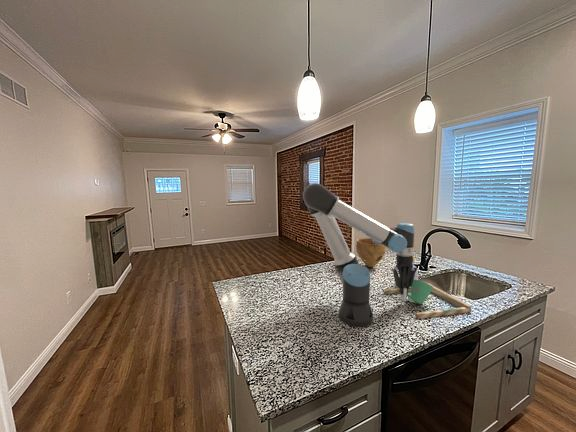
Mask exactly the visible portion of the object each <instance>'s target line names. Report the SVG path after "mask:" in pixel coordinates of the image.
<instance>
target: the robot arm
mask: <svg viewBox="0 0 576 432" xmlns="http://www.w3.org/2000/svg"><path fill="white" fill-rule="evenodd" d="M302 200H303V201H304V204H305V205H306V207H307V210H308V212H309V214H310V216H312V217H314V218H315V220H316V222H317V224H318V226H319V229H320V231H321V232H322V235H323V237H324V239H325V242H326V244H327V246H328V248H329V251H330V253H331V254H332V256H333V259H334V260H333V266H334V268H335V269H336V270H335V271H336V272H337V274H338V278H339V279H340V282H341V284H342V300H341V304H340V306H339V309H338V318H339V320H340V321H341V322H342V323H344V324H346V325H348V326H352V327H353V326H354V327H368V326H369V325H371V324H372V323H373V321H374V314H373V310H372V307H371V303H370V293H371V292H370V290H371V272H370V270H369V267H368V268H367V267H366V265H362V264H360V263H359V260H358V258H357V256H356V254H355V253H353V252H351V250H350V248H349V246H348V244H347V242H346V240H345V237H344V236H343V232H342V230H341V228H340V226H339V224H338V221H337V220H339V221H340V222H342V223H344V224H346V225H347V226H349V227H351V228H353V229H355V230H356V231H358V232H360V233H361V234H364V235H365V236H366V237H367V238H372V241H373V243H378V244H382V245H384V246H386V248H388V249H389V250H390V251H392V252H394V253H396V255H395V256H396V257H395V260H396V264H395V267H394V268H391V272H392V273H393V278H394V283H395V286H396V287H397V288H399V293H398V294H400V296H399V299H400V300H401V301H402V302H407V297H408V296H407V294H408V293H409V292H408V289H409V287H411V286H412V284H413V280H414V276H415V272H416V271H417V269H418V267H417V266H415V265H414V258H413V256H414V248H415V247H414V245H415V244H414V242H415V241H414V240H415V225H414V224H413V223H408V222H400V223H399V222H398V223H397V226H396V227H387V226H386V225H384V224H382V223H380V222H378V221H377V220H374V218H371V217H370V216H368V215H366V214H364V213H363V212H361V211H360V210H358V209H356V208H354V207H352V206H351V205H349V204H347V203H346V202H344V201H342V200H341V199H340V197H339V196H338V195H337V194H335V193H333V192H332V191H330V189H328V188H327V187H325V186H324V185H323V184H320V183H310V184H309V185H307V186H306V187H304V190H303V192H302ZM336 219H337V220H336ZM412 263H413V264H412ZM414 266H415V267H414Z"/></svg>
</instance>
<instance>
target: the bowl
mask: <svg viewBox="0 0 576 432" xmlns="http://www.w3.org/2000/svg"><path fill="white" fill-rule="evenodd" d="M355 244H356V245H355V250H356V253H357V254H358V257H359V258H360V260H361V261H362V262H363V264H364V265H365V266H367V267H368V268H373V267H376V265H378V264H379V263H380V261H382V259H383V258H384V256H385V255H386V252H387V249H386V248H387V247H386V246H384V245H382V244H378V243H373V241H372V238H370V237H366V238H363V237H362V238H361V237H360V238H357V239H356V243H355Z"/></svg>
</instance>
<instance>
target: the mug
mask: <svg viewBox="0 0 576 432" xmlns="http://www.w3.org/2000/svg"><path fill="white" fill-rule="evenodd" d="M429 284H430V283H427V282H424V281H421V280H419V279H418V280H413V284H412V286H411V292H408V294H407V297H408V298H409V299H410V301H411V302H413V303H416V304H418V305H422V304H424V302H425V301H426V300H427V299H428V297H429V296H430V295H431V293H432V292H431V291H432V289H433V287H432V286H431V285H432V284H431V285H429Z"/></svg>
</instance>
